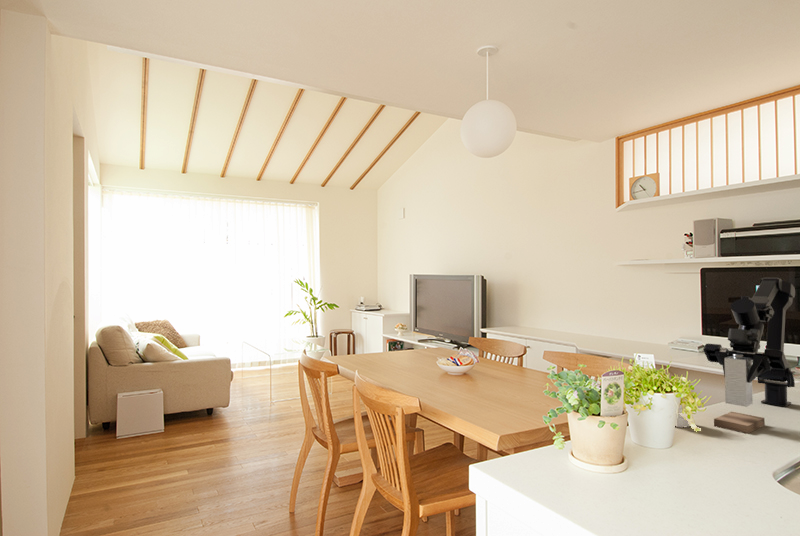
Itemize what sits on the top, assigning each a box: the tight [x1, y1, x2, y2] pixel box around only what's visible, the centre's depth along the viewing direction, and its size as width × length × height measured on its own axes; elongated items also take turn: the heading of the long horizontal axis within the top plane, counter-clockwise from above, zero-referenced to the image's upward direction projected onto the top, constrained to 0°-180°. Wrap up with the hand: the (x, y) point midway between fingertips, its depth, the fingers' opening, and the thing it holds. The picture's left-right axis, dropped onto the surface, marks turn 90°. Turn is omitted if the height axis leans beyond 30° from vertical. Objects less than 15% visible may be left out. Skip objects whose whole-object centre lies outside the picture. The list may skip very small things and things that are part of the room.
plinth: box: [713, 411, 766, 434], centre depth 134 cm, size 12×8×2 cm, turn 126°
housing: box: [724, 354, 754, 408], centre depth 134 cm, size 5×5×14 cm
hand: (736, 380), depth 133 cm, fingers closed on housing, 5 cm apart
